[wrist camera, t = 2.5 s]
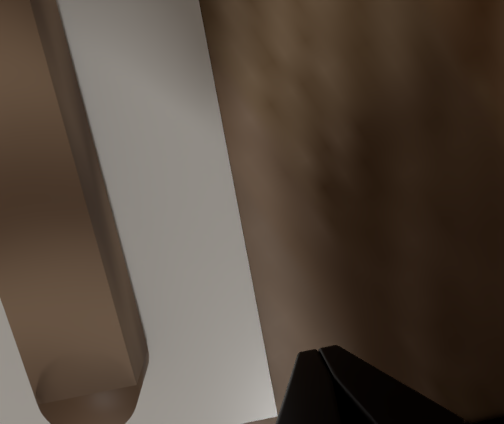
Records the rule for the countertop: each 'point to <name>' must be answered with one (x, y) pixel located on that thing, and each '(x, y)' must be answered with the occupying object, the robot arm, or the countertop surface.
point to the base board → (164, 215)
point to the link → (60, 234)
